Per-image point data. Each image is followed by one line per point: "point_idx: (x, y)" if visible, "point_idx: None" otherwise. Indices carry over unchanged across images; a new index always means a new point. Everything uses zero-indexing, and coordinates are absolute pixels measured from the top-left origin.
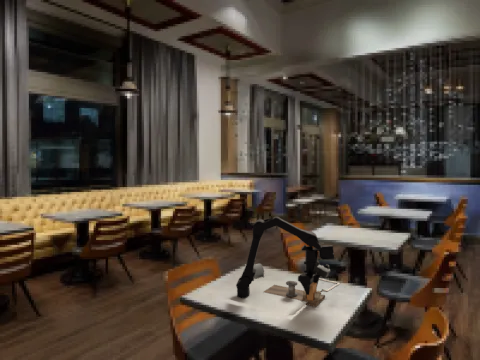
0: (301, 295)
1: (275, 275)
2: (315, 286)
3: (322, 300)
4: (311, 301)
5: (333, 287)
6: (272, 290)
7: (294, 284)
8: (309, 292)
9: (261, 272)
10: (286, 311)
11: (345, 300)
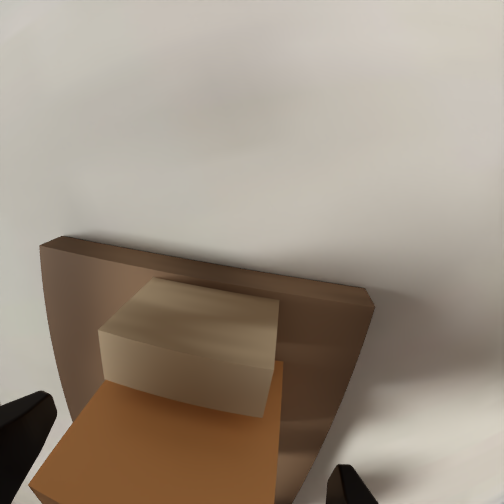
0: None
1: (21, 490)
2: (106, 472)
3: (132, 249)
4: (314, 370)
5: None
6: None
7: None
8: (346, 489)
9: None
10: (477, 447)
11: (48, 27)
